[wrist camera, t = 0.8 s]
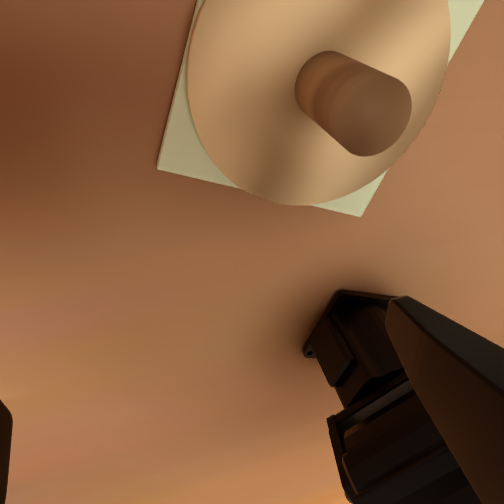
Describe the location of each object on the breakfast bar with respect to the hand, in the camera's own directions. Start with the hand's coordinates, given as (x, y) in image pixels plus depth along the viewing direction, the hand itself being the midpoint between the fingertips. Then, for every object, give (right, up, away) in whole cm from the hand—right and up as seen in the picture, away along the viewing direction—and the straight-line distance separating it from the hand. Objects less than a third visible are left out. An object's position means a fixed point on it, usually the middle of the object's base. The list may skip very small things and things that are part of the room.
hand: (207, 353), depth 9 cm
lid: (+4, +10, +9) cm, 14 cm away
